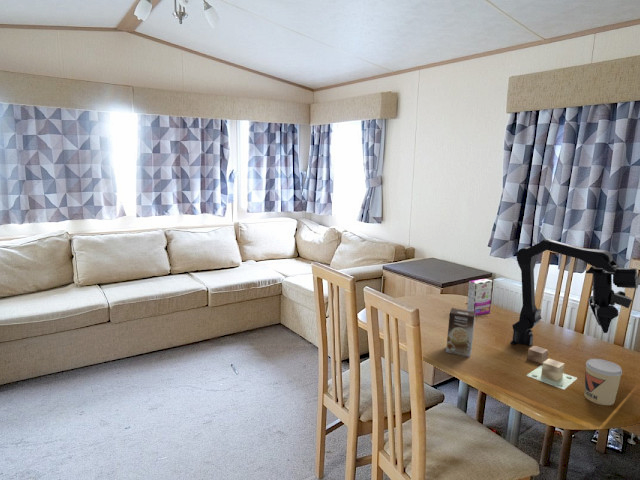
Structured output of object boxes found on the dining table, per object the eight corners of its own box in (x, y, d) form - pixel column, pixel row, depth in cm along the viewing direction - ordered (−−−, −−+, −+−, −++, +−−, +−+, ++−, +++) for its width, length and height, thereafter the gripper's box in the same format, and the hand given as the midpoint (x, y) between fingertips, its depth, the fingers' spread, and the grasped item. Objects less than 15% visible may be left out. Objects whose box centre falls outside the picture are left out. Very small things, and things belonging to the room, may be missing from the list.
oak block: (541, 376, 148) (542, 362, 147) (547, 371, 151) (548, 358, 150) (556, 381, 144) (558, 367, 143) (562, 377, 148) (564, 363, 147)
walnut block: (526, 361, 161) (528, 348, 160) (532, 357, 165) (534, 345, 164) (540, 366, 158) (542, 353, 157) (546, 362, 161) (548, 349, 160)
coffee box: (445, 352, 167) (448, 312, 164) (447, 346, 173) (451, 307, 170) (470, 357, 163) (474, 316, 161) (472, 351, 169) (475, 311, 166)
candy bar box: (482, 310, 217) (485, 278, 214) (490, 313, 213) (493, 280, 210) (465, 313, 212) (468, 280, 209) (473, 316, 207) (476, 283, 205)
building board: (525, 378, 148) (526, 374, 148) (540, 367, 156) (541, 364, 156) (563, 392, 140) (564, 388, 139) (577, 380, 148) (577, 377, 147)
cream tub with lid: (574, 393, 139) (579, 358, 137) (602, 393, 140) (607, 357, 138) (595, 410, 130) (600, 372, 128) (624, 409, 131) (630, 372, 129)
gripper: (636, 292, 143) (636, 338, 145) (623, 281, 160) (623, 322, 162) (596, 291, 148) (597, 336, 149) (587, 280, 165) (588, 321, 166)
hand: (602, 329), depth 156 cm, fingers open, 9 cm apart
